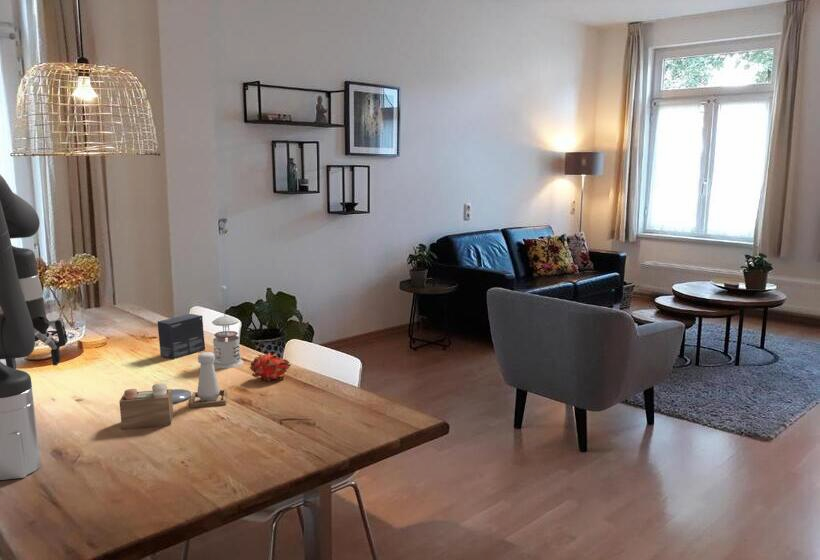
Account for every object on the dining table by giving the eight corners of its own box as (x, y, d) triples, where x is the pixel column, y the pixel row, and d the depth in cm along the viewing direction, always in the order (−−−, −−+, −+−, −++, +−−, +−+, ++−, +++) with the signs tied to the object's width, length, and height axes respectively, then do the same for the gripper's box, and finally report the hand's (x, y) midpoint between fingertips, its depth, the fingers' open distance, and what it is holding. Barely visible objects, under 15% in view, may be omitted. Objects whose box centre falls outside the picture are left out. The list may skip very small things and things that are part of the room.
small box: (193, 346, 226) (190, 313, 224) (205, 349, 222) (203, 315, 220) (159, 356, 215) (156, 320, 213) (172, 359, 211) (169, 323, 209)
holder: (225, 404, 172) (225, 401, 172) (189, 407, 170) (189, 404, 170) (227, 393, 180) (227, 389, 180) (193, 395, 178) (192, 392, 178)
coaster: (189, 402, 173) (189, 400, 173) (149, 406, 171) (149, 403, 171) (192, 389, 183) (192, 387, 183) (154, 393, 181) (154, 390, 181)
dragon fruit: (247, 386, 190) (288, 386, 195) (252, 376, 184) (294, 377, 188) (246, 358, 194) (287, 359, 199) (252, 348, 187) (293, 349, 192)
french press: (211, 369, 201) (205, 289, 196) (212, 358, 212) (207, 282, 207) (244, 366, 203) (239, 287, 199) (243, 356, 214) (239, 281, 210)
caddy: (170, 424, 159) (167, 388, 157) (122, 429, 156) (118, 392, 155) (173, 415, 165) (170, 380, 163) (126, 419, 162) (123, 384, 161)
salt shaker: (213, 404, 172) (210, 357, 169) (193, 403, 173) (190, 356, 170) (224, 397, 177) (221, 350, 175) (204, 395, 178) (201, 349, 176)
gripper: (-20, 304, 138) (-6, 376, 142) (55, 297, 142) (66, 368, 145) (-9, 296, 145) (4, 366, 149) (62, 289, 149) (73, 357, 152)
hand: (35, 367), depth 147 cm, fingers open, 8 cm apart
